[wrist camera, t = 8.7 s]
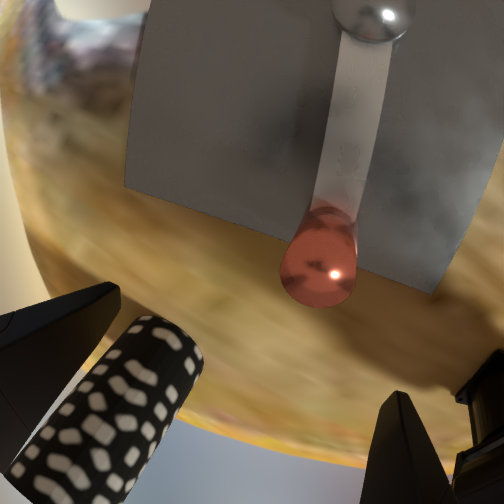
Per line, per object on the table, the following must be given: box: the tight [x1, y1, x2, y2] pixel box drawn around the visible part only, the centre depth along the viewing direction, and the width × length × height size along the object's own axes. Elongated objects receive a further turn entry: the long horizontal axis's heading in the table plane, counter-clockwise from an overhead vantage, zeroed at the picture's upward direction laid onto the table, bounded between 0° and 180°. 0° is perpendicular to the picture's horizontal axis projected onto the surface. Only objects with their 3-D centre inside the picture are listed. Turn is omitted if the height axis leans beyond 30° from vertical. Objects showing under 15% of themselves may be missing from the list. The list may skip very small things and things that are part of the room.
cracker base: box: [124, 0, 504, 295], centre depth 13 cm, size 22×22×4 cm
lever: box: [280, 0, 416, 308], centre depth 11 cm, size 20×4×6 cm, turn 173°
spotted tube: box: [3, 316, 204, 504], centre depth 21 cm, size 8×8×20 cm
